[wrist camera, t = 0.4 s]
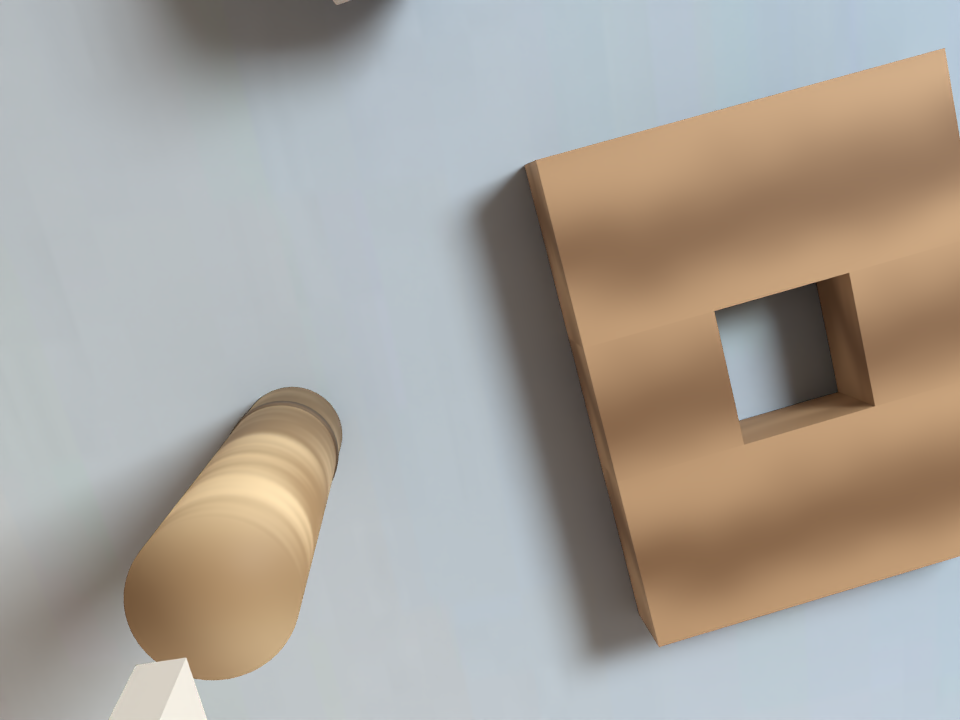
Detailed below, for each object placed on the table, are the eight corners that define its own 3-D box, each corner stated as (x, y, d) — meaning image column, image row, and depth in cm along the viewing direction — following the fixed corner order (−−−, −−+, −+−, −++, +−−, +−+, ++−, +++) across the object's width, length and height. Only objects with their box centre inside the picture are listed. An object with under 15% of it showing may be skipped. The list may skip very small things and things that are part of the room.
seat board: (524, 165, 35) (535, 160, 32) (900, 62, 36) (944, 48, 33) (639, 614, 39) (658, 647, 36) (979, 512, 40) (1026, 535, 37)
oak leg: (228, 401, 36) (96, 544, 20) (326, 374, 36) (271, 493, 20) (259, 495, 37) (155, 703, 21) (355, 467, 37) (324, 653, 21)
